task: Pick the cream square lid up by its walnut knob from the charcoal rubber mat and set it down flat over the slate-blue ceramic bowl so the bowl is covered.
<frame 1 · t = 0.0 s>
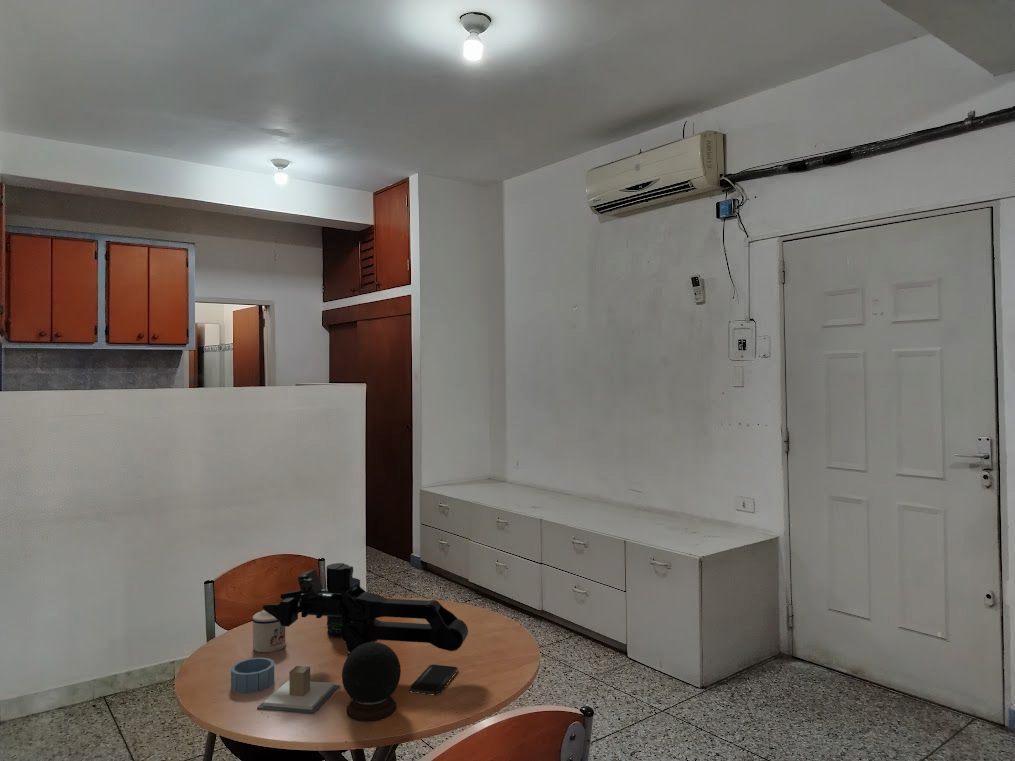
hand: (272, 601, 181), 17 cm above the table, tool horizontal, fingers open, 9 cm apart
storage jar: (343, 632, 204), on the table
teacup with lid: (272, 646, 194), on the table
bowl: (252, 683, 169), on the table
mat: (299, 697, 162), on the table
black ball on stand: (371, 710, 155), on the table
lid: (299, 695, 162), resting on mat
phone: (434, 683, 170), on the table
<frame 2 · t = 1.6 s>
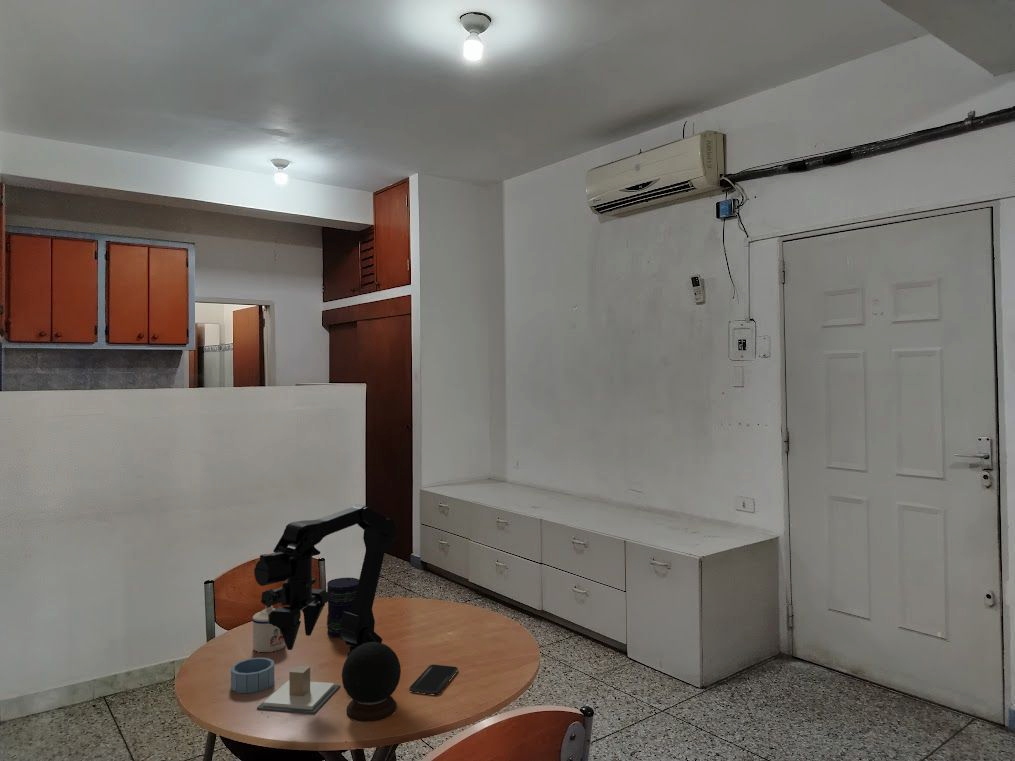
hand: (299, 642, 162), 13 cm above the table, tool pointing down, fingers open, 9 cm apart
nothing on the table moved.
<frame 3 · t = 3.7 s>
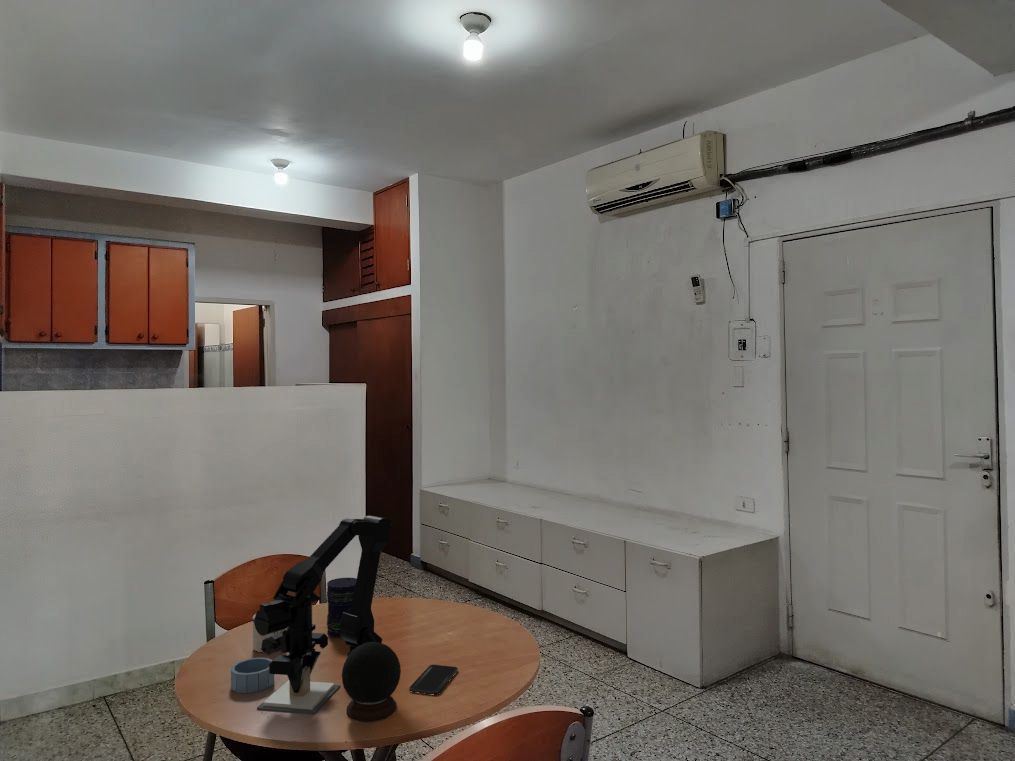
hand: (299, 689, 162), 2 cm above the table, tool pointing down, fingers closed on lid, 3 cm apart
lid: (299, 695, 162), resting on mat, touching gripper
everything else where it was.
when the fingers open (8 cm above the table, at t = 7.8 s): lid drops 1 cm, resting on bowl.
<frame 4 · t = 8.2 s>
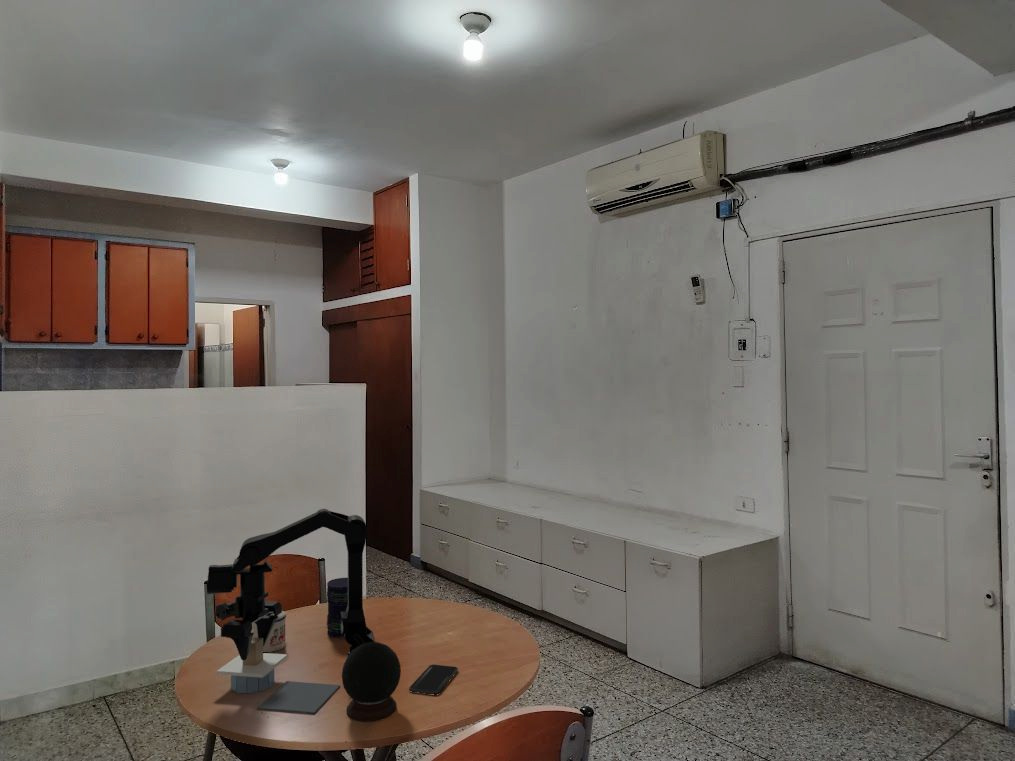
hand: (252, 653, 169), 8 cm above the table, tool pointing down, fingers open, 8 cm apart
lid: (253, 665, 169), point 4 cm above the table, touching bowl
everything else where it was.
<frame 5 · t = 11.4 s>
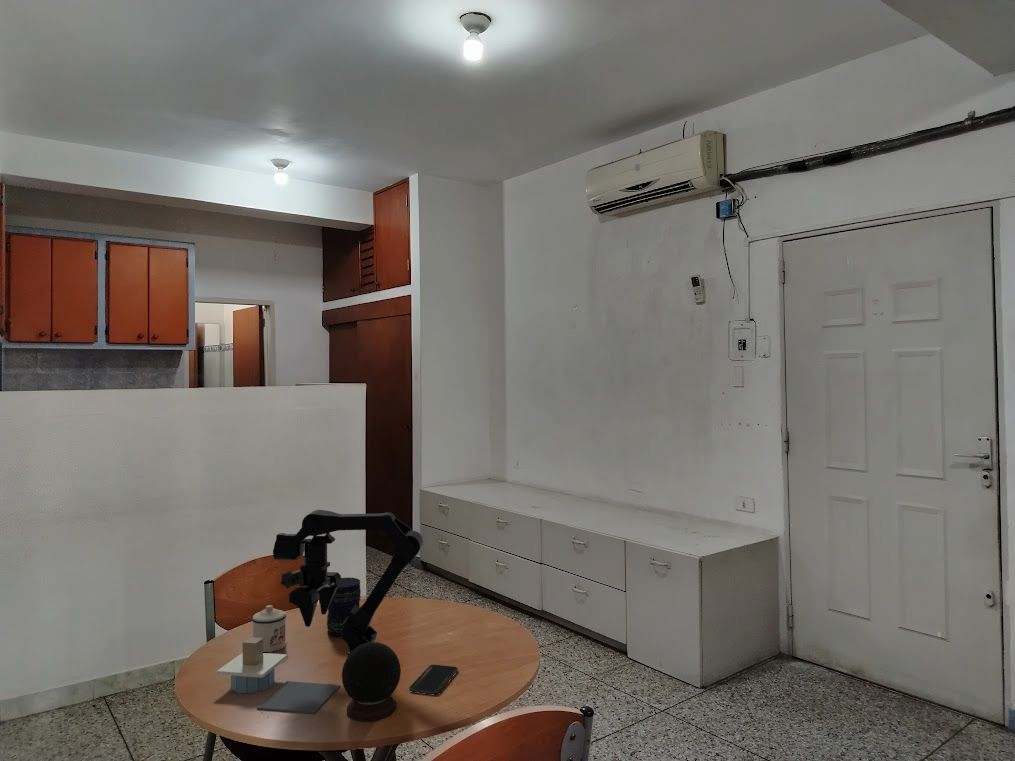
hand: (316, 620, 177), 13 cm above the table, tool pointing down, fingers open, 9 cm apart
nothing on the table moved.
at the end: lid 0.0 cm off-centre on the bowl, point 4.5 cm above the bowl's base; lid tilted 0°; the gripper is holding nothing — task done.
